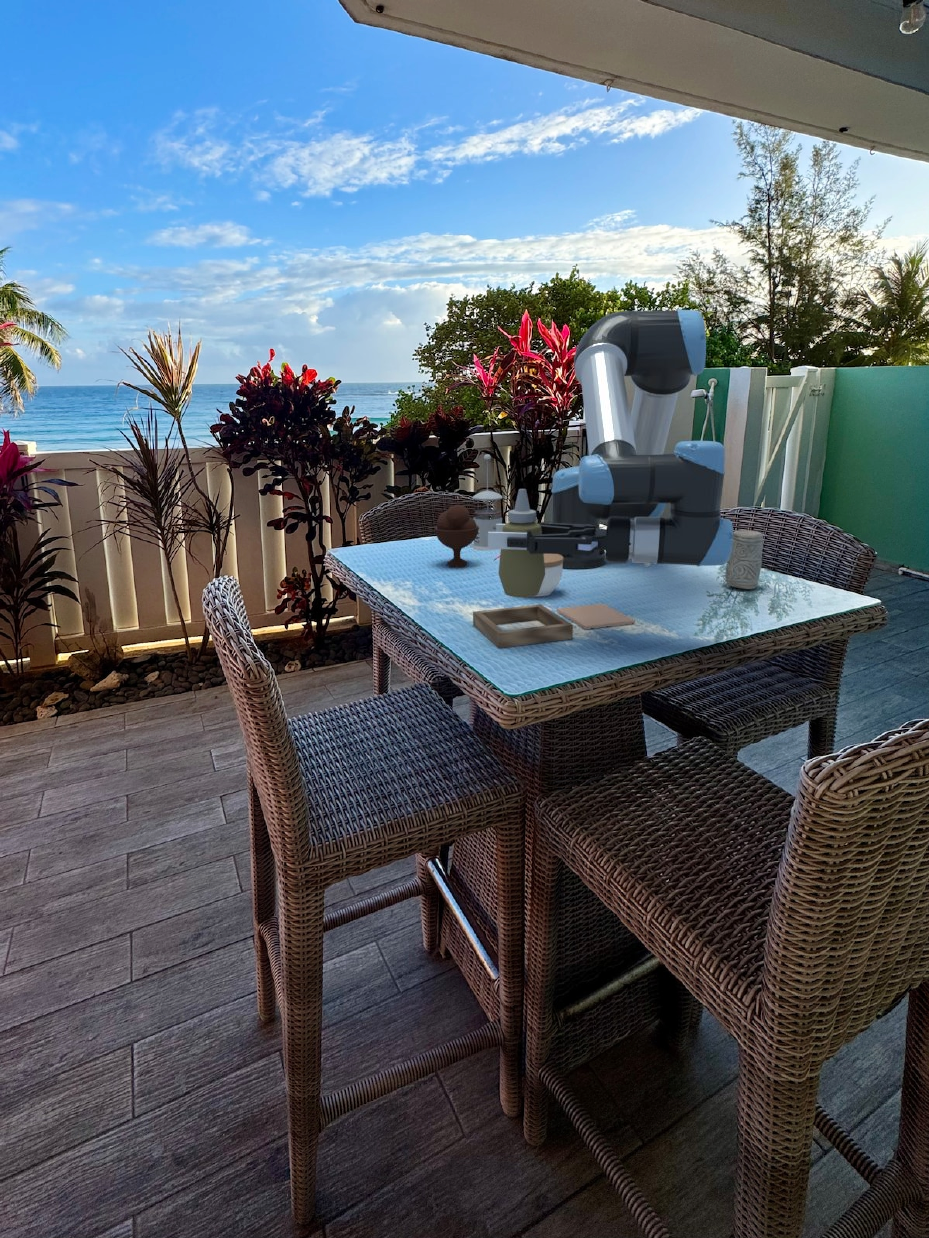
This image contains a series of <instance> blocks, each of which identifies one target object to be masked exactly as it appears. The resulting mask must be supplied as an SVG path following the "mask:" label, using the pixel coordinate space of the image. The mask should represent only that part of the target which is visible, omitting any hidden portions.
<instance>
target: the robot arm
mask: <svg viewBox="0 0 929 1238" xmlns="http://www.w3.org/2000/svg"><path fill="white" fill-rule="evenodd" d="M705 326H706V325H705V321H704V318H703V315H702V313H701V312H699V311H697V310H695V309H694V310H693V309H689V310H688V309H681V308H677V309H676V310H619V311H615V312H612V313H609V314H607V315H605V316H603V317H601V318H600V319H598V320H597V321H596V322H594V324H592V325H591V326H590V327H589V328H588V329H587V330H586V331H585V333H584V334H583V336H582V337H581V339H580V341H579V342H578V344H577V346H576V350H575V352H574V357H573V361H574V362H573V367H574V368H573V369H574V375H575V378H576V380H577V381H578V383H579V384H580V385H581V390H582V399H583V400H582V401H583V408H584V411H583V412H584V418H585V430H586V437H587V438H586V439H587V446H588V455H585V456H582V457H581V458H580V461H579V464H578V466H573V467H567V468H566V467H565V468H562V469H559V470H557V471H556V472H555V473H554V475H553V477H552V488H551V493H552V500H551V502H552V503H551V522H545V521H541V522H539V523H538V524H539V525H540V526H541V529H542V534H537V535H532V534H531V531H530V530H528V531H527V533H516V532H503V526H504V525H505V524H506V523H502V524H496V532H488V549H499V550H501V549H513V550H528V551H529V553H530V554H559V555H561V556H563V558H564V561H563V569H590V568H591V569H592V568H597V567H601V566H603V565H605V564H606V562H607V563H618V564H619V563H621V564H622V563H623V564H626V563H627V562H628V563H629V560H631V562H632V563H633V564H644V566H645V567H650V566H651V564H655V565H656V564H660V565H662V564H663V565H681V566H694V567H695V566H696V567H703V566H704V567H707V566H708V567H709V566H723V565H725V564H727V562H728V560H729V559H730V556H731V551H732V543H733V532H734V527H733V522H732V521H731V519H728V518H723V517H722V516H721V506H722V505H721V503H722V497H723V496H722V495H723V486H724V479H725V478H724V477H725V474H726V471H725V466H726V465H725V464H726V463H725V462H726V450H725V447H724V445H723V444H722V443H720V442H718V441H711V440H689V441H688V440H687V441H686V440H684V441H683V440H682V441H678V442H677V443H676V444H675V446H674V451H673V453H667V454H666V453H665V454H664V452H665V448H666V444H667V440H668V436H669V431H670V428H671V423H672V419H673V418H674V417H673V416H674V413H675V408H676V404H677V400H678V396H679V393H681V392H683V391H684V390H685V389H686V388H687V387H688V385H689V383H690V380H691V377H692V375H693V376H694V377H696V376H697V375H699V376H700V375H701V374H702V373H703V372H704V370H705V366H706V358H707V357H706V356H707V336H706V335H707V334H706V327H705ZM625 377H630V380H631V382H632V384H633V385H634V386H635V390H634V396H633V401H632V406H631V412H630V405H629V399H628V392H627V389H626V388H627V387H626V383H625V381H626V380H625ZM667 504H670V510H669V511H670V517H661V516H662V514H663V513H664V511H665V509H666V506H667ZM601 521H607V522H606V528H600V522H601Z"/></svg>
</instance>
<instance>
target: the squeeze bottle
mask: <svg viewBox="0 0 929 1238" xmlns="http://www.w3.org/2000/svg"><path fill="white" fill-rule="evenodd" d="M514 505H515V506H514V509H510V510H508V519H507V521H508V522H507V523H504V524H505V525H504V526H503V532H516V533H527V531H528V530H530V531H531V534H532V535H537V534H542V529H541V526H540V525H539V524H540V523H537V522H536V521H537V511H536V510H534V509H531V507H530V503H529V498H528V493H527V489H526V488H519V489H518V492H517V496H516V501H515V504H514ZM498 576H499V579H500V583H501V586H502V589H503V592H504V594H505V595H507V596H509V597H513V598H531V597H535V595H537V594H538V593H539V591H540V588H541V585H542V582H543V579H544V576H545V565H544V554H530V553H529V551H528V550H513V549H500V553H499V564H498Z"/></svg>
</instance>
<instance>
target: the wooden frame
mask: <svg viewBox="0 0 929 1238" xmlns="http://www.w3.org/2000/svg"><path fill="white" fill-rule="evenodd" d="M528 621H539V622H540V623H542V624H543V625H542V626H540V625H539V626H533V627H524V628H514V629H507V630H503V629H501V628H500V627H499V626H498V625H503V623H504V624H511V623H519V622H528ZM472 625H473V626H474V627H475V628H476V629H477V630H478V631H479V632H481V633H482V635H484V636H485V637H486V638H487V639H488V640H489V641H491V642H492V643H493V645H495V646H496V647H497V648H498V649H500V648H501V649H503V648H509V647H510V648H511V647H519V646H526V645H534V644H542V643H550V642H559V641H565V640H567V641H568V640H573V637H574V636H573V634H574V633H573V632H574V630H573V629H574V625H573V624H572V623H571V622H569V620H566V619H564V618H563V617H561V616H560V615H558V614H557V613H556V612H553V611H552V610H550V609H549V608H547V607H546V606H544V605H543V604H542V603H541V604H532V605H522V606H512V607H506V608H505V607H504V608H495V609H486V610H485V609H484V610H477V611H473V612H472Z"/></svg>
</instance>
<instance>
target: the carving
mask: <svg viewBox="0 0 929 1238" xmlns="http://www.w3.org/2000/svg"><path fill="white" fill-rule="evenodd" d="M763 543H764V535H763V533H762V532H759V531H756V530H745V529H744V530H743V529H741V530H735V531H734V530H733V543H732V551H731V556H730V559H729V560H728V562H727V563H725V564H726V567H725V575H724V577H725V578H724V579H725V583H726V585H727V586H729V587H733V588H738V589H743V590H755V589H756V588H757V587H758V586H757V585H758V584H759V579H760V576H761V575H760V574H761V569H762V564H763V560H762V559H763V546H764V544H763Z"/></svg>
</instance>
